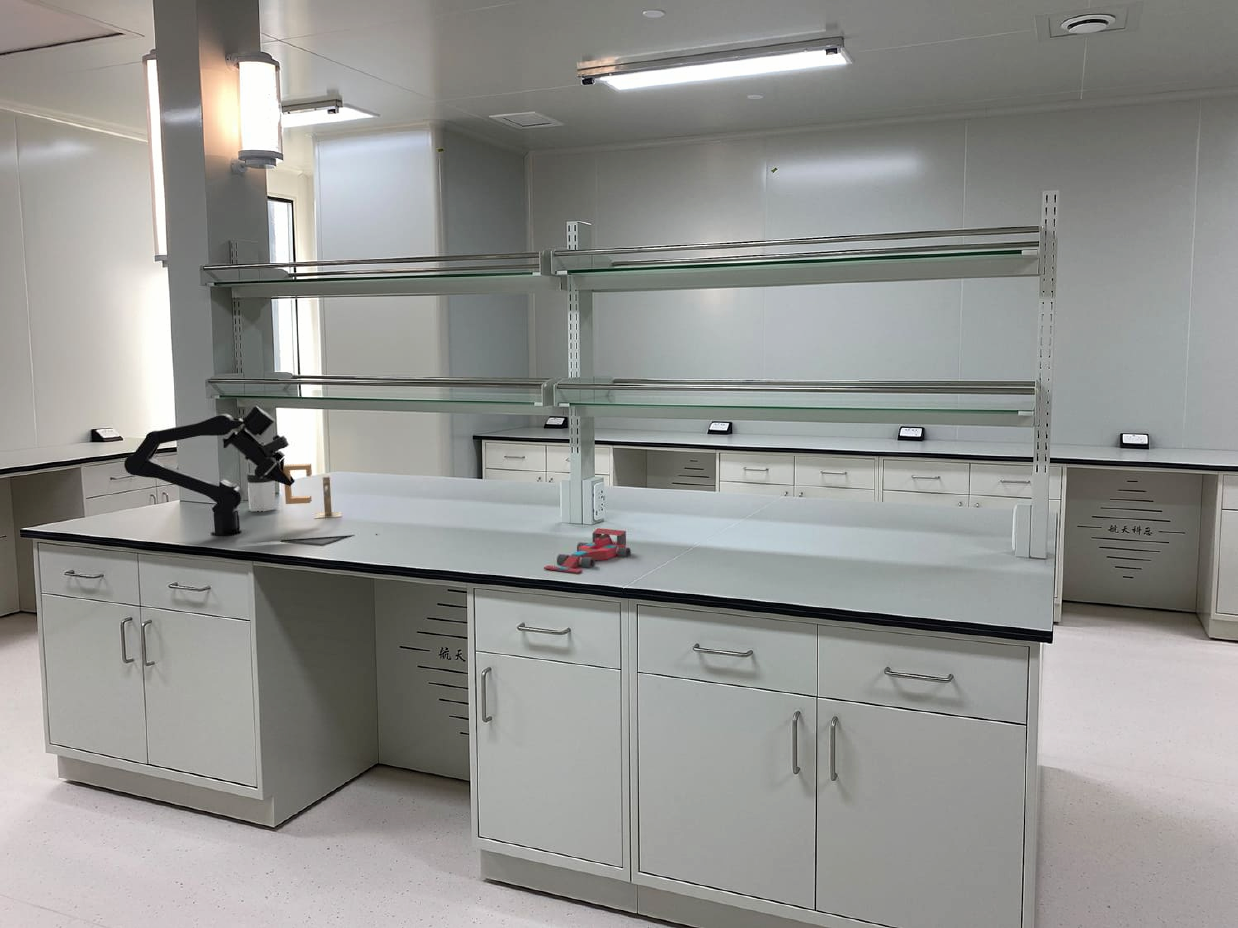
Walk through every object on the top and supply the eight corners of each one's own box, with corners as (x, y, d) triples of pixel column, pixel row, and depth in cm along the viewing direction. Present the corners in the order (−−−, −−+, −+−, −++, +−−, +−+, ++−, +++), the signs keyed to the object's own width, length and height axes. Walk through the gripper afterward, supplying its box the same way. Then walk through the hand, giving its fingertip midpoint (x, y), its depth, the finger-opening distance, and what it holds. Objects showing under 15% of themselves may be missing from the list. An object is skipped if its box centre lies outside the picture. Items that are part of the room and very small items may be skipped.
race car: (534, 546, 232) (588, 527, 254) (535, 570, 233) (588, 549, 255) (585, 551, 225) (636, 531, 247) (586, 577, 226) (636, 555, 248)
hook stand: (313, 529, 284) (310, 485, 282) (315, 517, 303) (312, 475, 301) (341, 527, 286) (339, 483, 284) (342, 515, 305) (339, 474, 303)
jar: (243, 511, 314) (240, 475, 313) (255, 507, 323) (252, 471, 321) (270, 511, 314) (267, 475, 312) (281, 507, 322) (278, 471, 320)
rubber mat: (322, 545, 262) (322, 543, 262) (281, 542, 267) (281, 540, 267) (355, 535, 275) (355, 533, 275) (315, 532, 280) (315, 530, 280)
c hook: (285, 504, 280) (283, 466, 279) (287, 501, 284) (285, 464, 283) (311, 502, 282) (309, 465, 280) (313, 500, 286) (311, 463, 284)
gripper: (264, 430, 270) (307, 467, 273) (275, 423, 288) (315, 459, 291) (236, 459, 269) (280, 496, 273) (248, 451, 287) (290, 486, 291)
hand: (292, 483), depth 282 cm, fingers closed on c hook, 4 cm apart
